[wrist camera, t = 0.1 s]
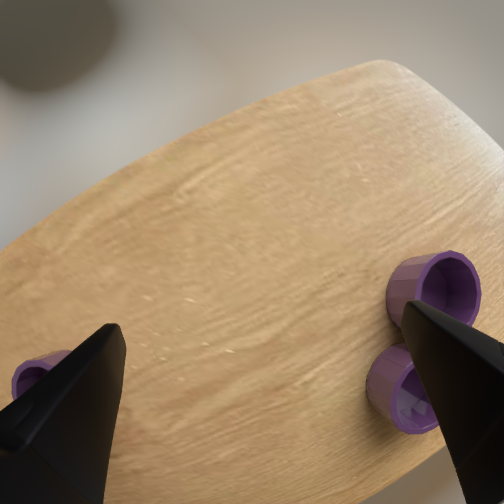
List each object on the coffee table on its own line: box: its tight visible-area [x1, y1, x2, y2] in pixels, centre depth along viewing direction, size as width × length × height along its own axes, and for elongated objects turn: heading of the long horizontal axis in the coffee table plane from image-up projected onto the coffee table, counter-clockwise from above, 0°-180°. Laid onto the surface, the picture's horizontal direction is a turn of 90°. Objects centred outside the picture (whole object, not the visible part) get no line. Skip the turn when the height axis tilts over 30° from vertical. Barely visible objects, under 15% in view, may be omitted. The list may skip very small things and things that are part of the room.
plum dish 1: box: [12, 350, 72, 400], centre depth 19 cm, size 6×6×5 cm
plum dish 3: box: [366, 342, 439, 434], centre depth 21 cm, size 6×6×5 cm
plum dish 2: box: [386, 250, 481, 329], centre depth 22 cm, size 6×6×5 cm
